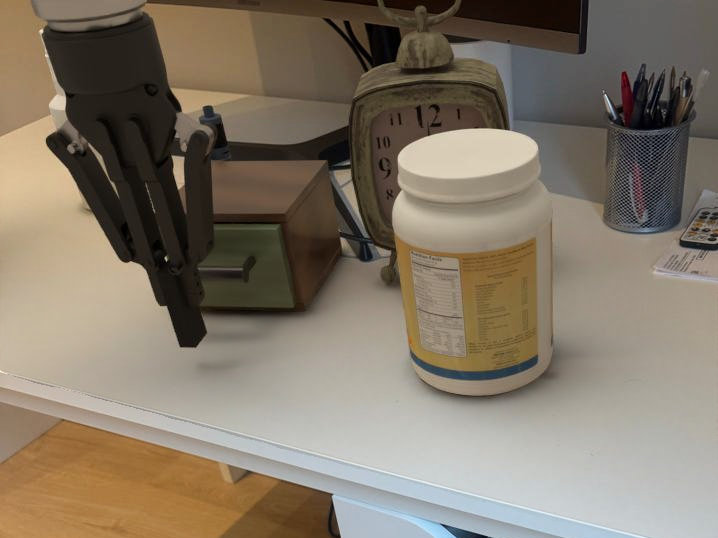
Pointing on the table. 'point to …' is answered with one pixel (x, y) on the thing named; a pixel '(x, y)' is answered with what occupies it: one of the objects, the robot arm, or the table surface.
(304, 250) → the cabinet
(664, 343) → the table surface
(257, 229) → the drawer
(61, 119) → the spray bottle
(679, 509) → the table surface
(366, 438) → the table surface
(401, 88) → the tabletop clock
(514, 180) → the supplement tub
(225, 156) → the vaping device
